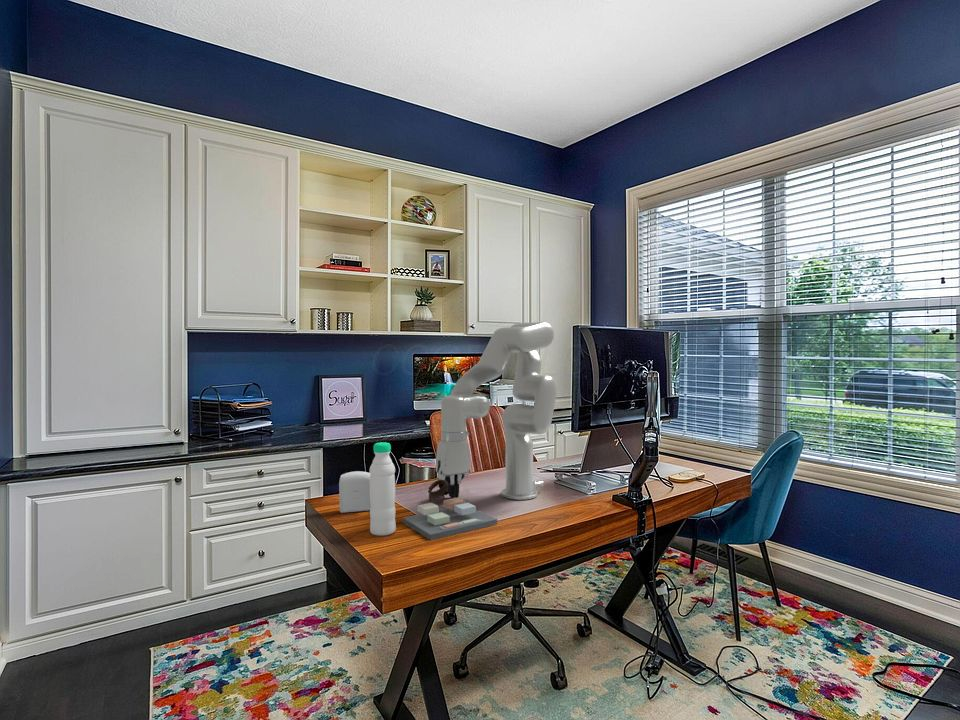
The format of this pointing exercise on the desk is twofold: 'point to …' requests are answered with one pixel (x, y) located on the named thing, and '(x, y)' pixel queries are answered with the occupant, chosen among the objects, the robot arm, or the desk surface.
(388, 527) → the water bottle
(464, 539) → the desk surface
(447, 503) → the terracotta key
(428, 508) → the cream key
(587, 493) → the desk surface
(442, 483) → the brown arched ornament
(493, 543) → the desk surface
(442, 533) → the keypad
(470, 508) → the blue key
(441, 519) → the sage key
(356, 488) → the photo printer
